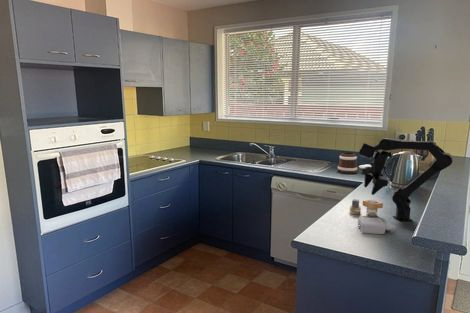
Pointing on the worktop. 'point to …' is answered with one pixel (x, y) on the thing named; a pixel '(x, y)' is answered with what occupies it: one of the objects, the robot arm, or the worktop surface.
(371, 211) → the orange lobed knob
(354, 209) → the small brown bottle
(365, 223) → the white plastic bottle
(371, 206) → the washer
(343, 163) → the brown layered cake
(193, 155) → the worktop surface
